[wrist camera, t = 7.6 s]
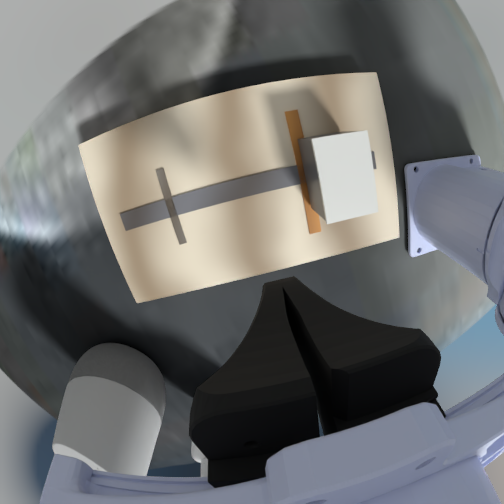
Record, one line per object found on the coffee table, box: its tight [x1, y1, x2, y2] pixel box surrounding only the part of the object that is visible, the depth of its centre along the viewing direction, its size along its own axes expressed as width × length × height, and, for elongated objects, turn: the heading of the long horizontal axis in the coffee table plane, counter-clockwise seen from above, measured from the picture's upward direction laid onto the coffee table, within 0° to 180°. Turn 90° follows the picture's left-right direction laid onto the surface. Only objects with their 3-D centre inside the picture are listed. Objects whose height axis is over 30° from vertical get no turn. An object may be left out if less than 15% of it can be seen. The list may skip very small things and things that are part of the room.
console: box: [78, 72, 399, 303], centre depth 18 cm, size 20×12×2 cm, turn 103°
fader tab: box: [298, 130, 378, 224], centre depth 15 cm, size 3×4×3 cm
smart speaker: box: [52, 343, 166, 476], centre depth 18 cm, size 10×9×14 cm
